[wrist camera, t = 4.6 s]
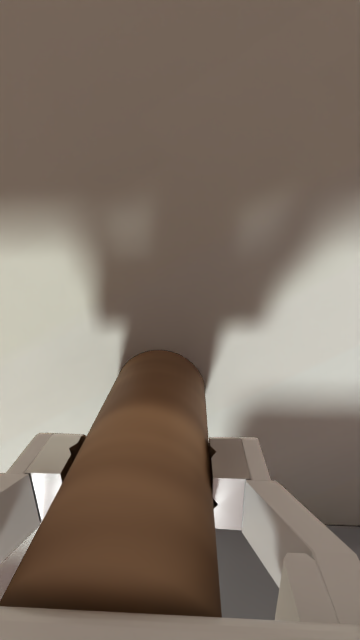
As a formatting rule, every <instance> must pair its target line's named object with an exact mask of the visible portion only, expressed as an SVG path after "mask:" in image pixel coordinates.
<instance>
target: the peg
mask: <svg viewBox="0 0 360 640" xmlns="http://www.w3.org/2000/svg"><path fill="white" fill-rule="evenodd" d="M0 606H7V607H26V608H46V609H66V610H85V611H105V612H125V613H144V614H163V615H182V616H202V617H221V618H222V612H221V599H220V586H219V573H218V559H217V546H216V533H215V520H214V507H213V496H212V483H211V467H210V457H209V441H208V428H207V415H206V401H205V388H204V382H203V379H202V376H201V374H200V373H199V371H198V369H197V368H196V367H195V366H194V365H193V364H192V363H191V362H190V361H189V360H188V359H186V358H184V357H183V356H181V355H179V354H177V353H173V352H170V351H164V350H153V351H147V352H144V353H141V354H139V355H137V356H135V357H133V358H132V359H131V360H129V361H128V362H127V363H126V364H125V365H124V367H123V368H122V370H121V372H120V373H119V375H118V377H117V379H116V381H115V383H114V385H113V387H112V389H111V391H110V393H109V394H108V396H107V398H106V400H105V402H104V404H103V406H102V408H101V410H100V412H99V414H98V416H97V417H96V419H95V421H94V423H93V425H92V427H91V429H90V431H89V433H88V435H87V437H86V438H85V440H84V442H83V444H82V446H81V448H80V450H79V452H78V454H77V456H76V458H75V460H74V461H73V463H72V465H71V467H70V469H69V471H68V473H67V475H66V477H65V479H64V481H63V482H62V484H61V486H60V488H59V490H58V492H57V494H56V496H55V498H54V500H53V502H52V503H51V505H50V507H49V509H48V511H47V513H46V515H45V517H44V519H43V521H42V523H41V525H40V526H39V528H38V530H37V532H36V534H35V536H34V538H33V540H32V542H31V544H30V546H29V547H28V549H27V551H26V553H25V555H24V557H23V559H22V561H21V563H20V565H19V567H18V569H17V570H16V572H15V574H14V576H13V578H12V580H11V582H10V584H9V586H8V588H7V590H6V591H5V593H4V595H3V597H2V599H1V601H0Z"/></svg>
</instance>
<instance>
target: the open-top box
mask: <svg viewBox="0 0 360 640" xmlns="http://www.w3.org/2000/svg"><path fill="white" fill-rule="evenodd" d="M325 526H326V527H327V528H328V529H329V530H331V531H332V532H333V533H334V534H335V535H336V536H337V537H338V538H339V539H340V540H341V541H342V542H344V543H345V544H346V545H347V546H348V547H349V548H350V549H351V550H352V551H353V552H354V553H356V555H357V557H358V559H359V561H360V527H356V526H327V525H325ZM215 533H216V546H217V559H218V573H219V586H220V599H221V612H222V618H240V619H259V620H275V614H276V608H277V601H278V594H279V587H278V586H277V584H276V583H275V581H274V580H273V578H272V577H271V575H270V574H269V572H268V571H267V569H266V568H265V566H264V565H263V563H262V562H261V560H260V559H259V557H258V556H257V554H256V553H255V551H254V550H253V548H252V547H251V545H250V544H249V542H248V541H247V539H246V538H245V536H244V535H243V533H242V530H230V529H216V528H215Z"/></svg>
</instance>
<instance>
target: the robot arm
mask: <svg viewBox="0 0 360 640" xmlns="http://www.w3.org/2000/svg"><path fill="white" fill-rule="evenodd" d="M86 437H87V436H86V435H84V434H64V433H39V434H37V435H36V436H35V437H34V438H33V439H32V441H31V442H30V443H29V444H28V446H27V447H26V448H25V449H24V451H23V452H22V453H21V455H20V456H19V457H18V458H17V460H16V461H15V462H14V463H13V465H12V466H11V467H10V468H9V470H8V471H7V472H6V473H0V564H1V563H2V562H3V561H4V560H5V559H6V558H7V557H8V556H9V555H10V554H11V553H12V552H13V551H14V550H15V549H16V548H17V547H18V546H19V545H20V544H21V543H22V542H23V541H24V540H25V539H26V538H27V537H28V536H29V535H30V534H32V533H33V532H34V531H35V530H36V529H37V528H38V527H39V526H40V523H42V521H43V519H44V517H45V515H46V513H47V511H48V509H49V507H50V505H51V503H52V502H53V500H54V498H55V496H56V494H57V492H58V490H59V488H60V486H61V484H62V482H63V481H64V479H65V477H66V475H67V473H68V471H69V469H70V467H71V465H72V463H73V461H74V460H75V458H76V456H77V454H78V452H79V450H80V448H81V446H82V444H83V442H84V440H85V438H86ZM209 457H210V467H211V483H212V496H213V507H214V520H215V528H216V529H230V530H242V533H243V535H244V536H245V538H246V539H247V541H248V542H249V544H250V545H251V547H252V548H253V550H254V551H255V553H256V554H257V556H258V557H259V559H260V560H261V562H262V563H263V565H264V566H265V568H266V569H267V571H268V572H269V574H270V575H271V577H272V578H273V580H274V581H275V583H276V584H277V586H278V587H279V594H278V601H277V608H276V614H275V620H259V619H240V618H221V617H202V616H182V615H163V614H144V613H125V612H105V611H85V610H66V609H46V608H26V607H7V606H0V640H360V561H359V559H358V557H357V555H356V553H354V552H353V551H352V550H351V549H350V548H349V547H348V546H347V545H346V544H345V543H344V542H342V541H341V540H340V539H339V538H338V537H337V536H336V535H335V534H334V533H333V532H332V531H331V530H329V529H328V528H327V527H326V526H325V525H324V524H323V523H322V522H321V521H320V520H319V519H317V518H316V517H315V516H314V515H313V514H312V513H311V512H310V511H309V510H308V509H307V508H305V507H304V506H303V505H302V504H301V503H300V502H299V501H298V500H297V499H296V498H295V497H294V496H292V495H291V494H290V493H289V492H288V491H287V490H286V489H285V488H284V487H283V486H282V485H280V484H279V483H278V482H277V481H271V478H270V475H269V472H268V469H267V466H266V462H265V459H264V456H263V453H262V450H261V447H260V444H259V441H258V439H257V438H256V437H240V438H239V437H209Z"/></svg>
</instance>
